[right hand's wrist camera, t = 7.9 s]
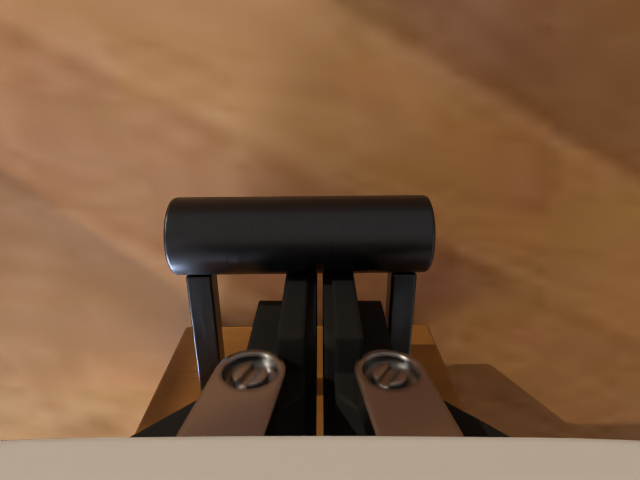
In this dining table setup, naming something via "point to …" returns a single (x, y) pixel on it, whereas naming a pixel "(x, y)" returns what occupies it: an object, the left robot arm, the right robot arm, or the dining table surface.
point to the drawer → (292, 258)
